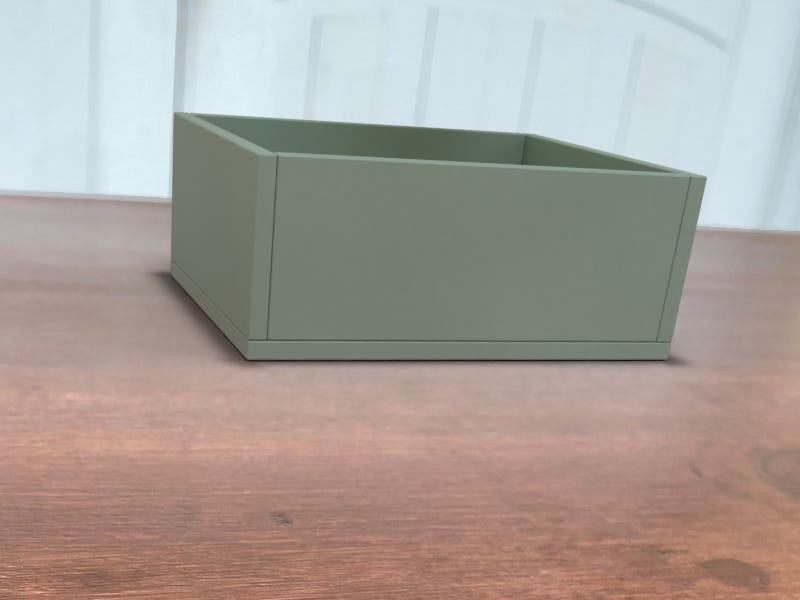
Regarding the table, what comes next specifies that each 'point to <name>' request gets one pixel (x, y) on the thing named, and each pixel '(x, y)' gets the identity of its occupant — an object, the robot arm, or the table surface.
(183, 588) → the table surface
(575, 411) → the table surface
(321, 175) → the open storage bin
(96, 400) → the table surface
